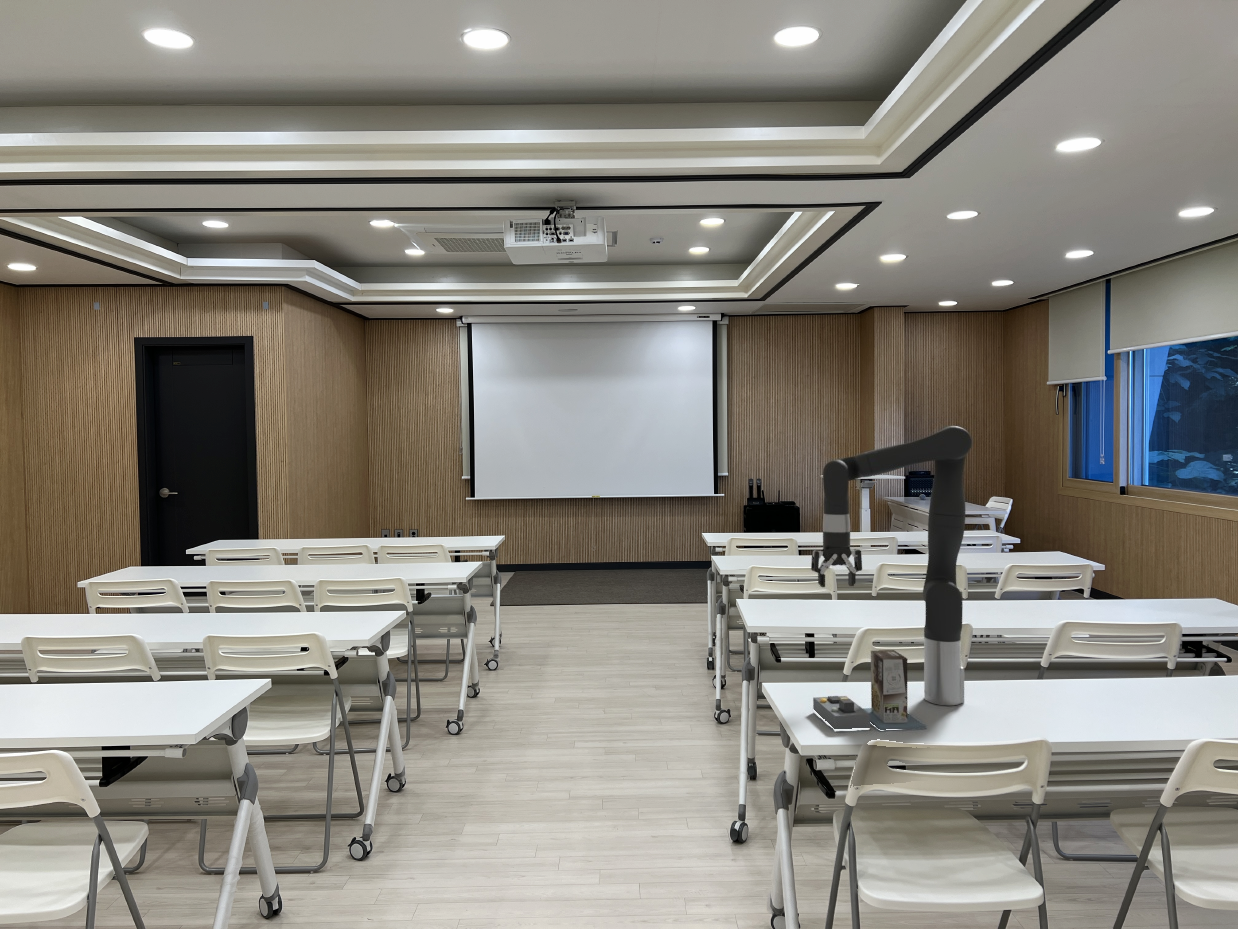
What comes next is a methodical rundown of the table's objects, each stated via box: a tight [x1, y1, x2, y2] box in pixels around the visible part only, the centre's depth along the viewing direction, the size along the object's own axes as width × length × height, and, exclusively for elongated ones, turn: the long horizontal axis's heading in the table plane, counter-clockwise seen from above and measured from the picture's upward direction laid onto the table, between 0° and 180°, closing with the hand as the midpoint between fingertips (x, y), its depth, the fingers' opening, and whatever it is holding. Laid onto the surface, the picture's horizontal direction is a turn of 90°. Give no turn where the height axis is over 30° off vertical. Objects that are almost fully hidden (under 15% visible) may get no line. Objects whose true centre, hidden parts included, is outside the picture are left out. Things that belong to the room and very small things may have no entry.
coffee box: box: [870, 649, 908, 723], centre depth 189 cm, size 9×6×16 cm
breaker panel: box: [812, 695, 871, 729], centre depth 189 cm, size 14×9×5 cm, turn 7°
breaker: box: [839, 697, 854, 713], centre depth 186 cm, size 3×3×3 cm
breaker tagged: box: [827, 695, 841, 704], centre depth 192 cm, size 3×3×3 cm
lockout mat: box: [862, 707, 927, 730], centre depth 190 cm, size 12×14×1 cm
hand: (836, 586), depth 213 cm, fingers open, 8 cm apart
